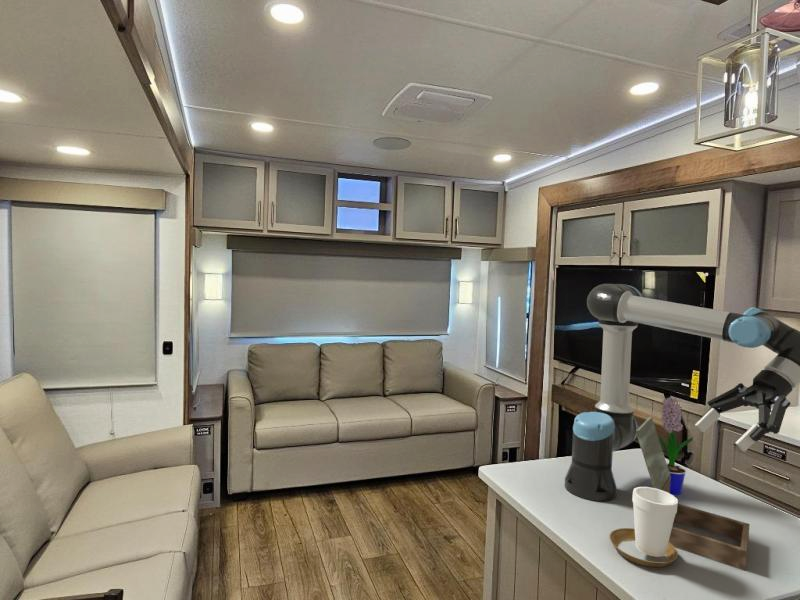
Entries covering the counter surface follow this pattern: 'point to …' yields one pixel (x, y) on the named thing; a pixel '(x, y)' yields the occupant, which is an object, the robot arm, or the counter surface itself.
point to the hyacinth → (673, 443)
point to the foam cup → (653, 519)
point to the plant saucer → (629, 535)
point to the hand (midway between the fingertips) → (718, 437)
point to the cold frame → (693, 511)
